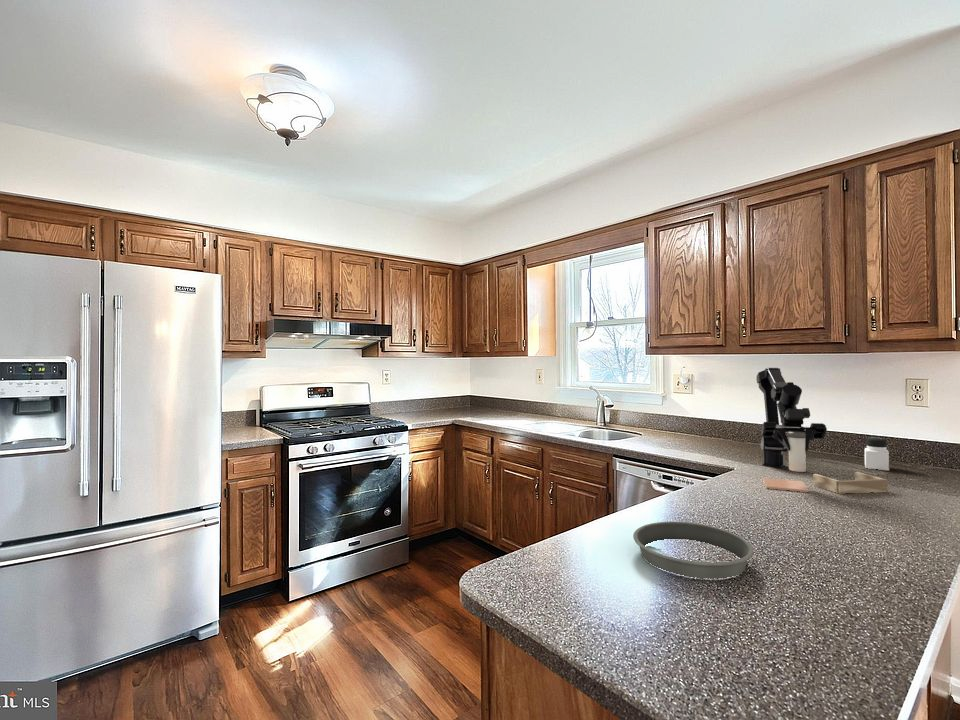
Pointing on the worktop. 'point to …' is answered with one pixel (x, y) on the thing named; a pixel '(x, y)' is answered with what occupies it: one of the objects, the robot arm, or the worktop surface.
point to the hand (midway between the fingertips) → (798, 450)
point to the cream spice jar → (797, 451)
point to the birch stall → (852, 484)
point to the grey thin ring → (699, 534)
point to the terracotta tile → (785, 485)
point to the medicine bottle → (877, 454)
